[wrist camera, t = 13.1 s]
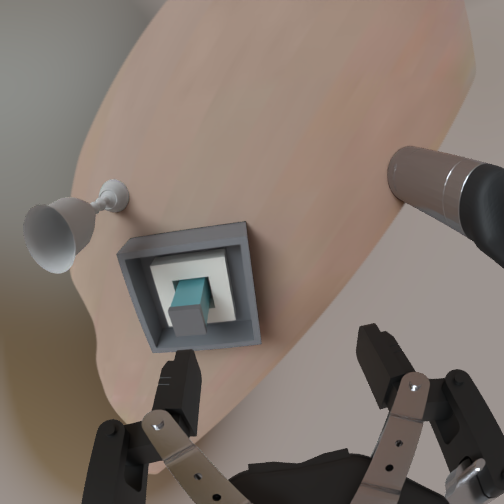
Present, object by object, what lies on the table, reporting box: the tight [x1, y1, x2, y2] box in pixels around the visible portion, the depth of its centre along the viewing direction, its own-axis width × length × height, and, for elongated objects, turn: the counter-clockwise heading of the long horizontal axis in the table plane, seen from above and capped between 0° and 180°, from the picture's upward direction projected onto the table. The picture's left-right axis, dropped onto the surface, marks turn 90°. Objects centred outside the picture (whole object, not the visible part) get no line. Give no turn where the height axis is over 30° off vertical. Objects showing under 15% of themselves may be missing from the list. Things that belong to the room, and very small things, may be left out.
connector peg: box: [168, 277, 211, 337], centre depth 40 cm, size 4×4×10 cm
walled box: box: [117, 221, 262, 353], centre depth 43 cm, size 18×18×6 cm
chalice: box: [23, 179, 129, 273], centre depth 31 cm, size 7×7×18 cm
